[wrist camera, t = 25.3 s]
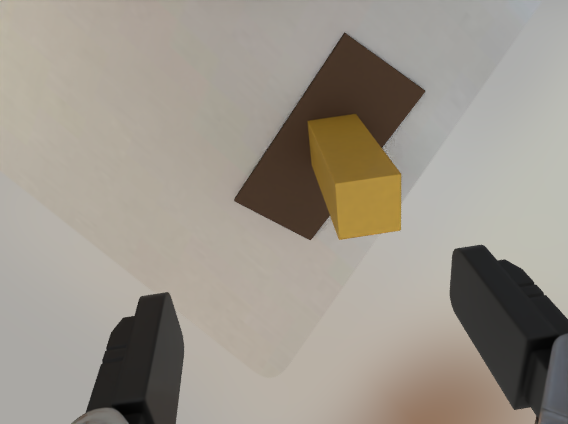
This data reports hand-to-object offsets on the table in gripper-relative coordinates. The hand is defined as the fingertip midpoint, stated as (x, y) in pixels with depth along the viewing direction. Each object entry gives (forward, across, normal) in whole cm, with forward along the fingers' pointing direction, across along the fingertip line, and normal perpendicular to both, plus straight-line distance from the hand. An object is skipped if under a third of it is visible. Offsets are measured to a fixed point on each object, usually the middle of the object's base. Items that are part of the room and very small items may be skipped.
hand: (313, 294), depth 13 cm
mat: (+30, -5, +8) cm, 32 cm away
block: (+30, -6, +7) cm, 31 cm away
